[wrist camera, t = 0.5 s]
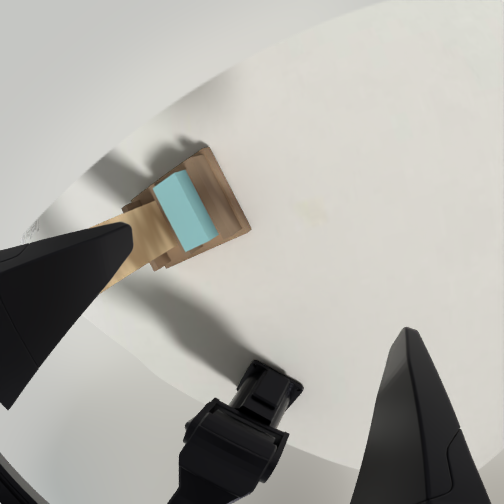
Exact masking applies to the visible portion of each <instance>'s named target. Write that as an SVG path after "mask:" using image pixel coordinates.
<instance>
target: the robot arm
mask: <svg viewBox="0 0 504 504" xmlns="http://www.w3.org/2000/svg"><path fill="white" fill-rule="evenodd" d="M133 246H134V244H133V233H132V227H131V225H129V224H127V223H124V222H115V223H111V224H106V225H102V226H97V227H93V228H89V229H84V230H80V231H76V232H72V233H68V234H63V235H59V236H55V237H51V238H47V239H43V240H39V241H36V242H32V243H30V244H29V243H28V244H24V245H20V246H16V247H13V248H9V249H4V250H0V403H2V405H3V406H4V407H5V408H6V409H7V410H9V409H10V408H11V406H12V405H13V404H14V402H15V401H16V399H17V398H18V396H19V395H20V394H21V392H22V391H23V389H24V388H25V387H26V385H27V384H28V382H29V381H30V380H31V378H32V377H33V375H34V374H35V373H36V372H37V370H38V368H39V367H40V366H41V365H42V363H43V362H44V361H45V359H46V358H47V357H48V356H49V354H50V353H51V352H52V350H53V349H54V348H55V346H56V345H57V344H58V343H59V342H60V340H61V339H62V338H63V337H64V335H65V334H66V333H67V332H68V330H69V329H70V328H71V327H72V325H73V324H74V323H75V322H76V321H77V319H78V318H79V317H80V316H81V315H82V313H83V312H84V311H85V310H86V309H87V307H88V306H89V305H90V304H91V303H92V302H93V300H94V299H95V298H96V297H97V296H98V295H99V293H100V292H101V291H102V290H103V289H104V288H105V287H106V285H107V284H108V283H109V282H110V280H111V279H112V278H113V276H114V275H115V274H116V272H117V271H118V269H119V268H120V267H121V265H122V264H123V263H124V261H125V260H126V259H127V257H128V256H129V255H130V253H131V252H132V250H133ZM255 364H256V365H255ZM298 388H299V389H298ZM303 389H304V387H303V386H302V385H300V384H299V383H297V382H295V381H293V380H291V379H289V378H287V377H286V376H284V375H282V374H280V373H278V372H277V371H275V370H273V369H271V368H269V367H268V366H266V365H264V364H262V363H261V362H259V361H257V360H253V361H252V363H251V364H250V366H249V368H248V370H247V371H246V373H245V375H244V377H243V378H242V380H241V382H240V384H239V385H238V387H237V391H238V392H237V393H236V395H235V396H234V398H233V399H232V401H231V402H230V404H229V405H227V404H225V403H223V402H221V401H219V399H217V398H214V399H213V400H212V401H211V402H209V403H207V404H206V405H205V407H204V408H203V409H202V410H201V411H200V412H199V413H198V414H197V415H196V416H195V417H194V418H192V419H191V420H189V421H188V422H187V423H186V425H185V429H186V433H185V436H184V439H183V442H184V443H185V446H184V447H183V449H182V451H181V452H180V454H179V488H178V489H177V491H176V492H175V494H174V495H173V496H172V498H171V499H170V500H169V502H168V503H167V504H232V503H234V502H235V501H237V500H239V499H241V498H243V497H245V496H247V495H248V494H250V493H251V492H253V491H254V489H255V487H256V485H257V484H258V482H259V481H260V482H262V483H265V482H266V481H267V480H268V478H269V477H270V475H271V474H272V472H273V470H274V469H275V467H276V465H277V463H278V461H279V459H280V457H281V454H282V452H283V449H284V447H285V444H286V442H287V439H288V437H289V433H287V432H282V431H280V430H278V429H276V428H277V426H278V424H279V422H280V420H281V418H282V416H283V414H284V412H285V411H286V410H287V409H288V408H289V407H290V405H291V404H292V403H293V402H294V401H295V400H296V399H297V397H298V396H299V395H300V394H301V393H302V391H303ZM0 503H1V504H49V503H48V502H47V501H46V500H45V499H44V498H43V497H41V496H40V495H39V494H38V493H37V492H36V491H35V490H34V489H33V488H32V487H31V486H30V485H29V484H28V483H27V482H26V481H25V480H24V479H23V478H22V477H21V476H20V475H19V474H18V472H17V471H16V470H15V469H14V468H13V467H12V466H11V465H10V464H9V462H8V461H7V460H6V459H5V458H4V457H3V455H2V454H1V453H0ZM350 504H491V502H490V499H489V497H488V495H487V493H486V489H485V487H484V485H483V482H482V480H481V478H480V475H479V473H478V471H477V468H476V466H475V463H474V461H473V459H472V456H471V454H470V451H469V448H468V446H467V443H466V441H465V438H464V435H463V432H462V430H461V429H460V425H459V422H458V420H457V417H456V415H455V412H454V410H453V407H452V405H451V402H450V400H449V397H448V395H447V393H446V390H445V388H444V386H443V383H442V381H441V379H440V377H439V374H438V372H437V370H436V368H435V366H434V363H433V361H432V359H431V357H430V355H429V353H428V351H427V349H426V347H425V344H424V342H423V340H422V338H421V336H420V334H419V332H418V331H417V330H415V329H412V328H409V327H404V328H403V329H402V331H401V332H400V334H399V335H398V337H397V338H396V340H395V341H394V343H393V344H392V346H391V348H390V351H389V355H388V359H387V362H386V366H385V370H384V373H383V377H382V380H381V384H380V387H379V391H378V394H377V398H376V403H375V408H374V413H373V418H372V423H371V427H370V432H369V436H368V441H367V445H366V449H365V453H364V457H363V461H362V465H361V468H360V472H359V476H358V479H357V483H356V486H355V489H354V493H353V496H352V499H351V502H350Z"/></svg>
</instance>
